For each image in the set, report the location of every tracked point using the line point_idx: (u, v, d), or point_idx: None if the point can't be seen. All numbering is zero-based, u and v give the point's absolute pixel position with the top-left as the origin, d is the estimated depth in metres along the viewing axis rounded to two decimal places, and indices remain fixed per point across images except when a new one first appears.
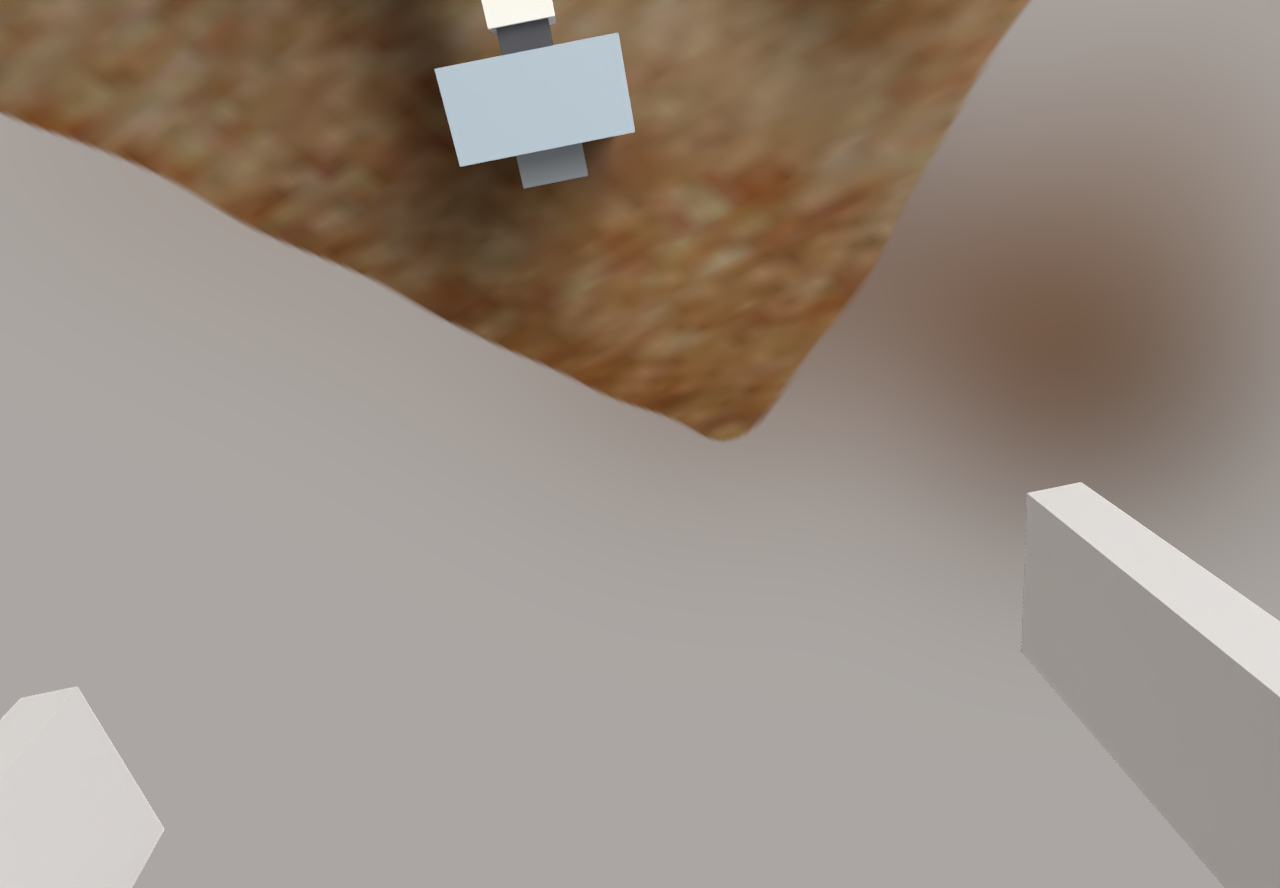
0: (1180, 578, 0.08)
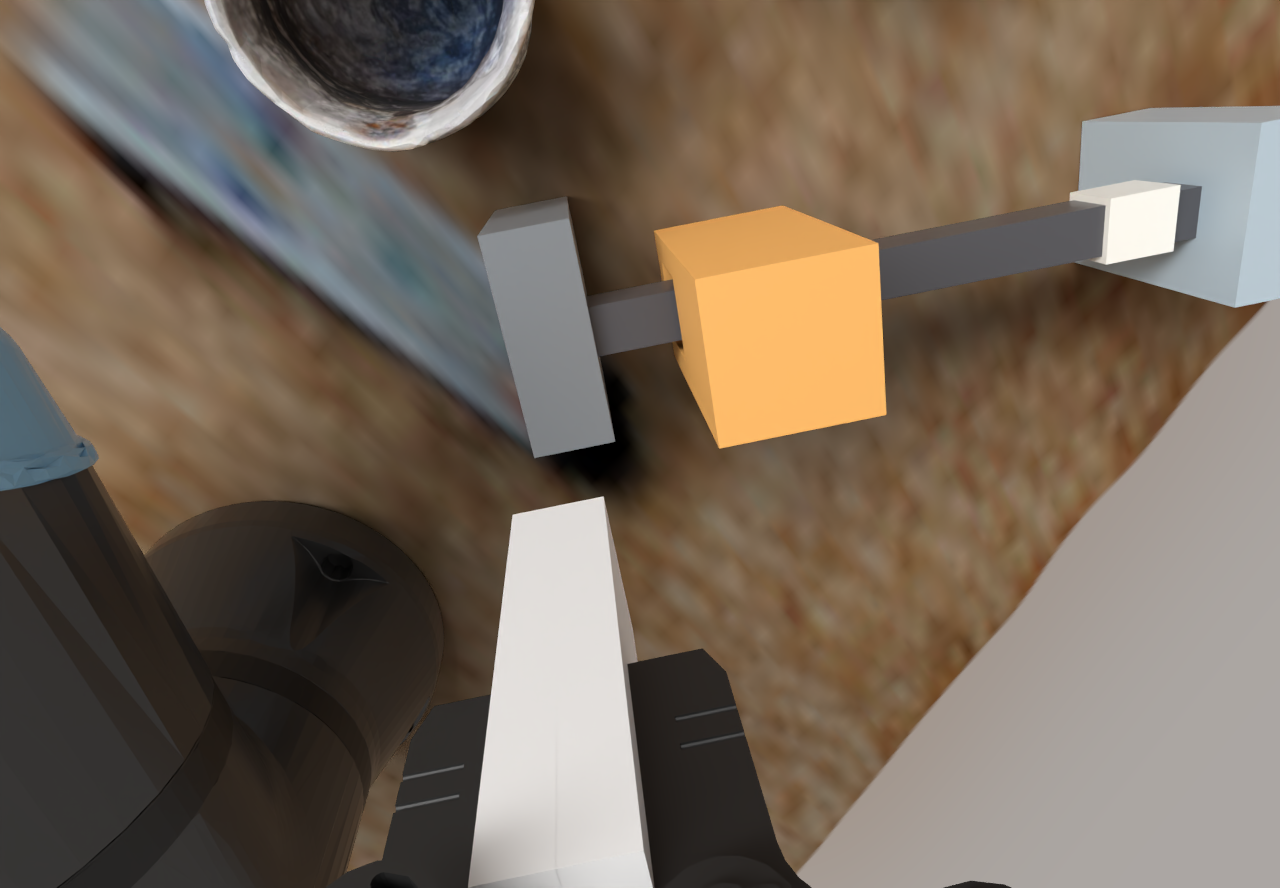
0: (586, 576, 0.10)
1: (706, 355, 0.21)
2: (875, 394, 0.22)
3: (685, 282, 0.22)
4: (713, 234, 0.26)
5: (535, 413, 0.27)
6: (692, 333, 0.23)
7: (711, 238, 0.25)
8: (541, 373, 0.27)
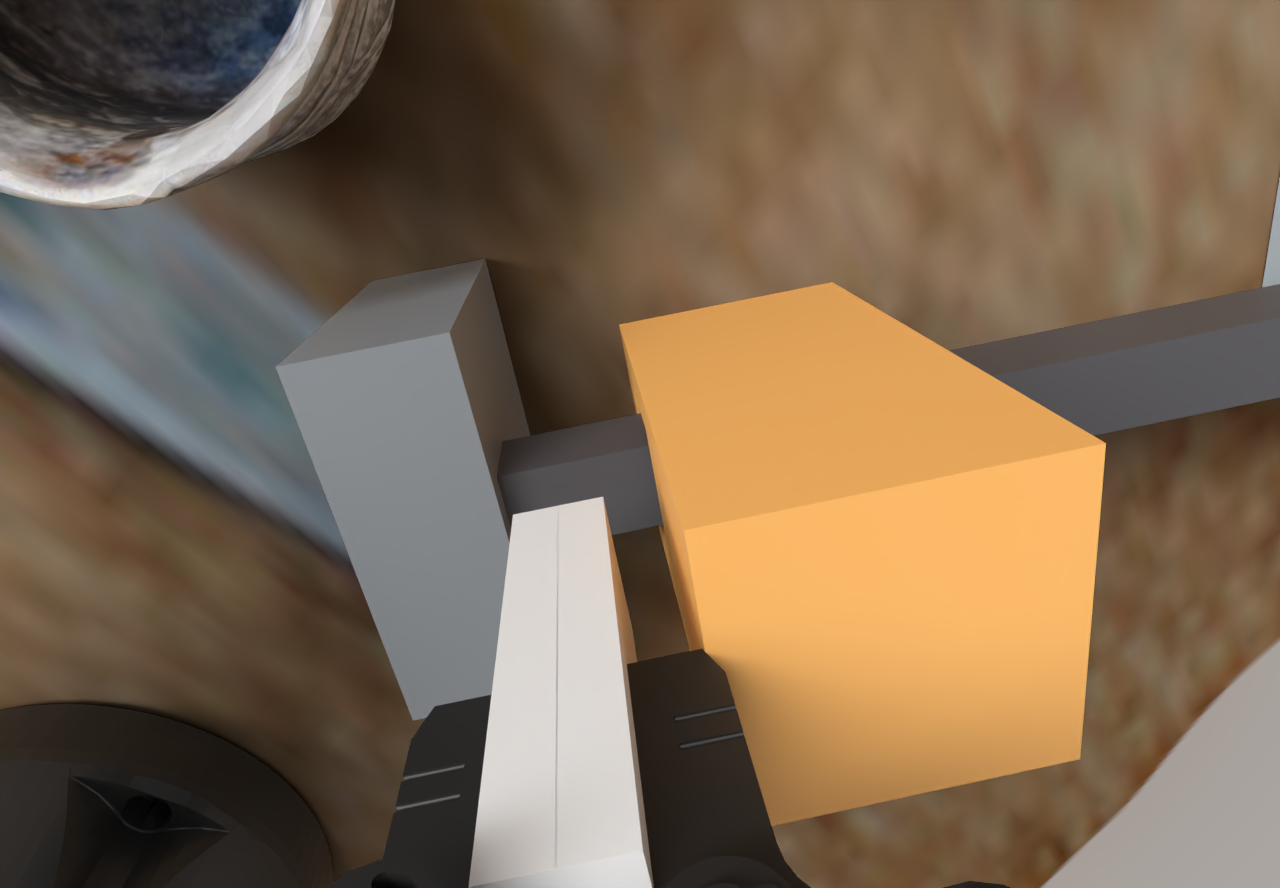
0: (586, 576, 0.10)
1: None
2: (1062, 725, 0.11)
3: (666, 488, 0.11)
4: (720, 350, 0.14)
5: (410, 654, 0.16)
6: (681, 575, 0.12)
7: (716, 363, 0.14)
8: (416, 592, 0.15)
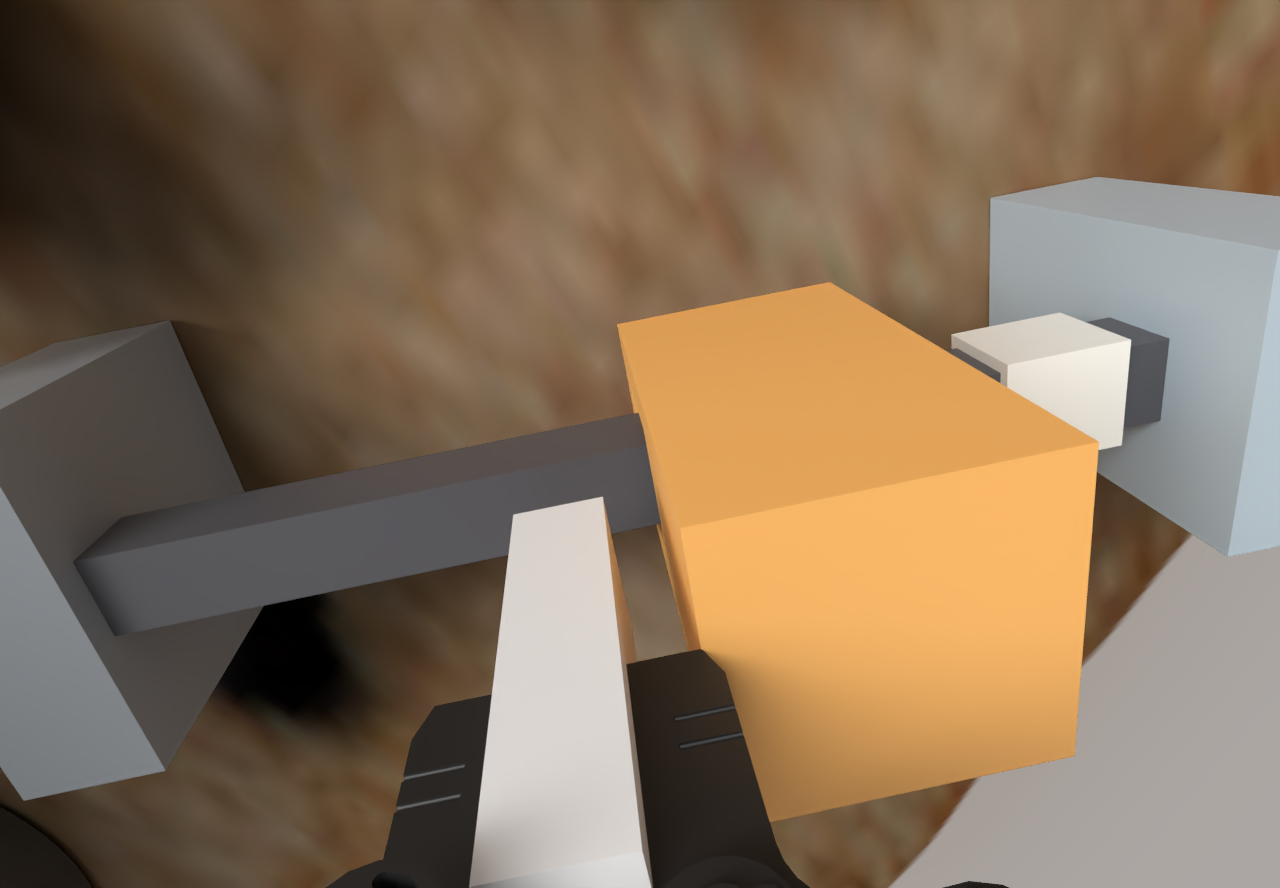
0: (586, 576, 0.10)
1: None
2: (1056, 723, 0.11)
3: (663, 486, 0.11)
4: (717, 350, 0.14)
5: (4, 737, 0.15)
6: (678, 573, 0.12)
7: (714, 362, 0.14)
8: None
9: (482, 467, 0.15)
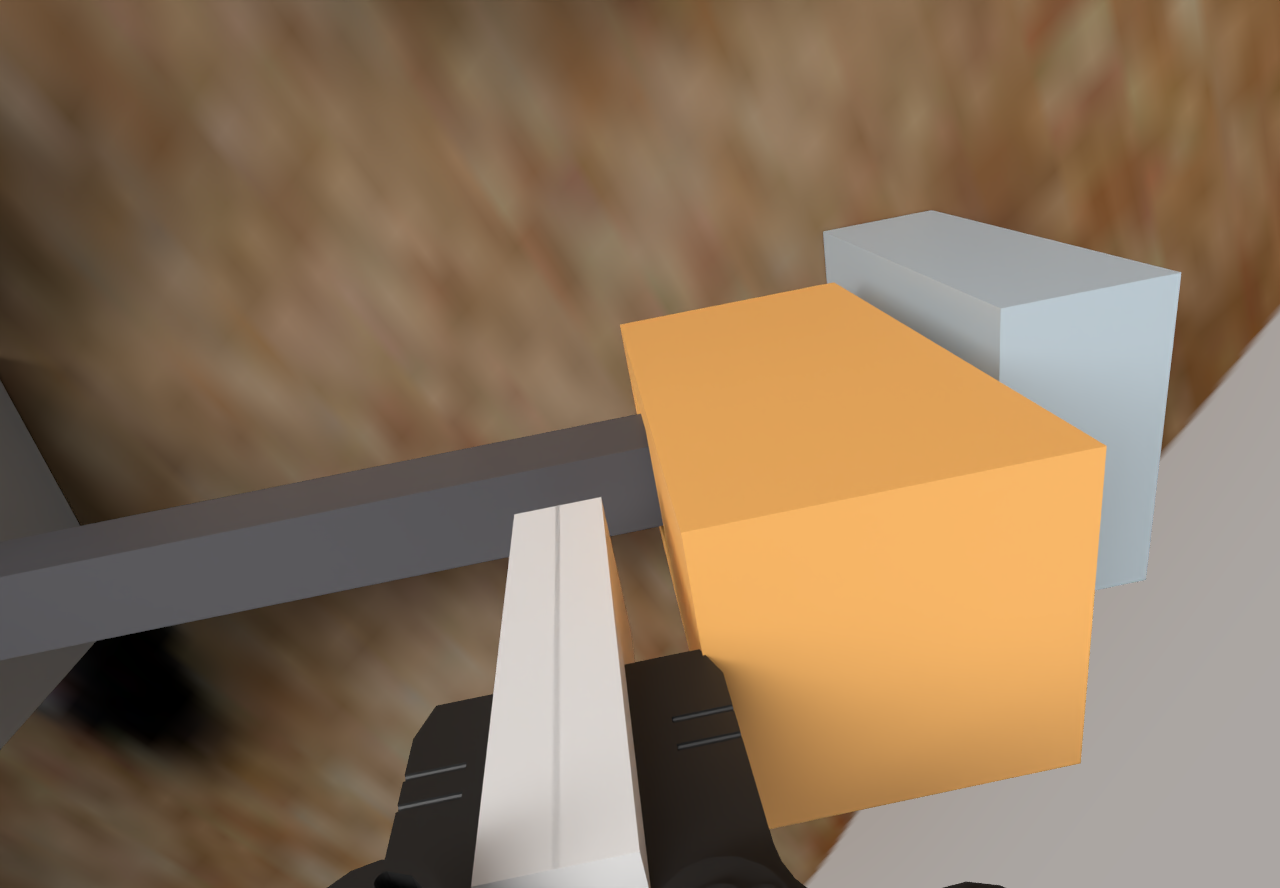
0: (584, 577, 0.10)
1: None
2: (1062, 729, 0.10)
3: (664, 489, 0.11)
4: (720, 351, 0.14)
5: None
6: (680, 577, 0.12)
7: (717, 363, 0.14)
8: None
9: (246, 516, 0.15)
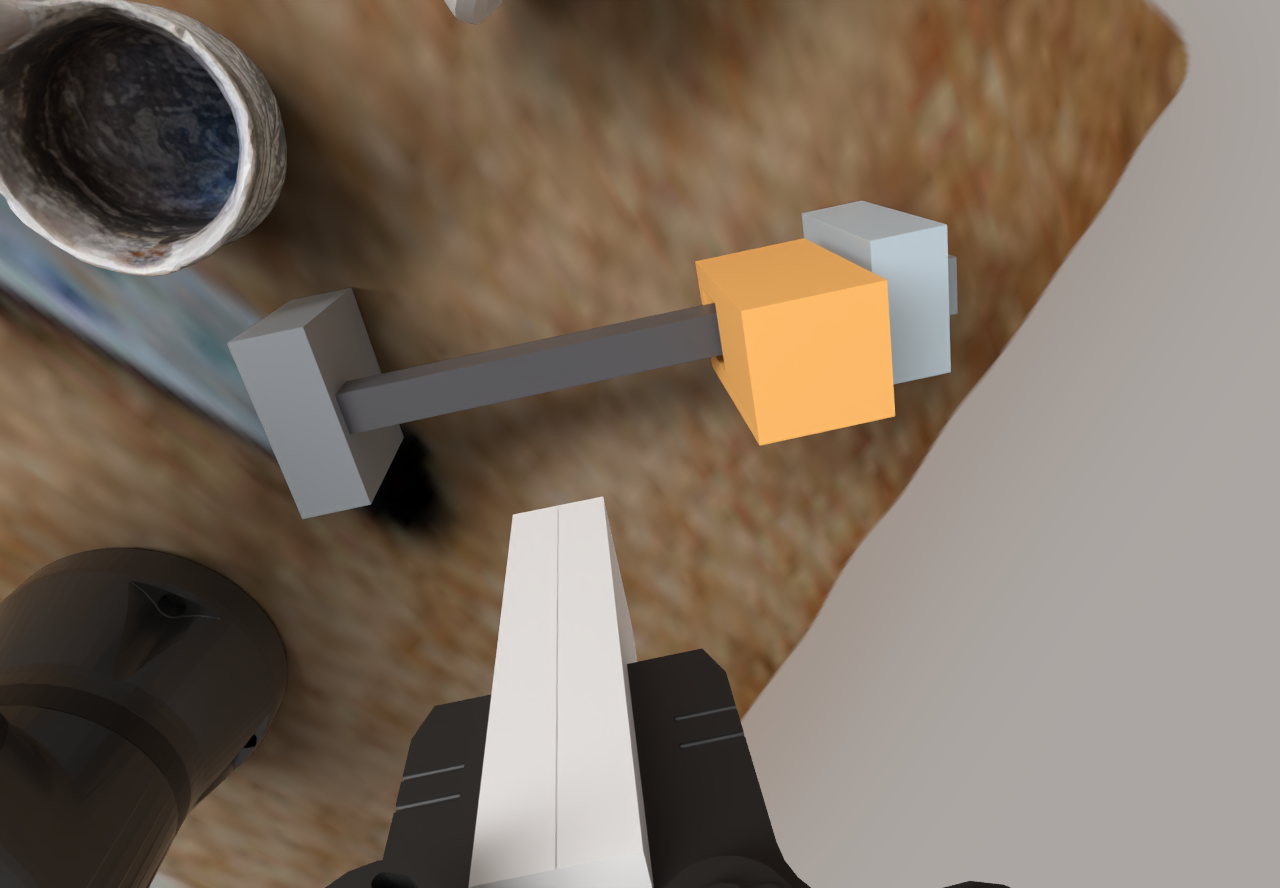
0: (586, 576, 0.10)
1: (749, 370, 0.26)
2: (886, 399, 0.27)
3: (730, 311, 0.27)
4: (748, 267, 0.31)
5: (298, 483, 0.32)
6: (735, 351, 0.28)
7: (747, 271, 0.30)
8: (298, 450, 0.32)
9: (524, 351, 0.32)
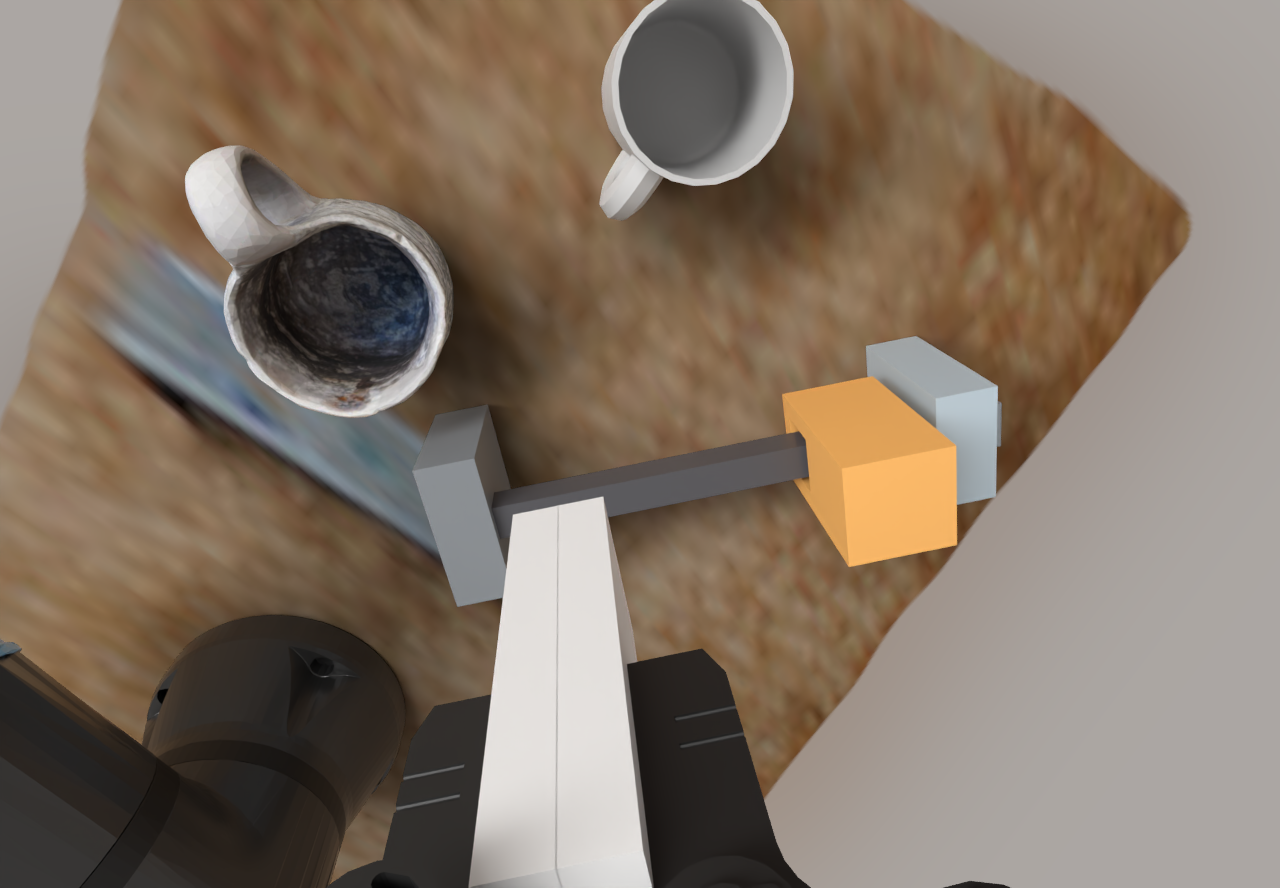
0: (586, 576, 0.10)
1: (845, 511, 0.33)
2: (950, 532, 0.34)
3: (827, 459, 0.34)
4: (832, 409, 0.38)
5: (457, 578, 0.39)
6: (828, 488, 0.35)
7: (833, 415, 0.37)
8: (459, 553, 0.38)
9: (646, 473, 0.39)
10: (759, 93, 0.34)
